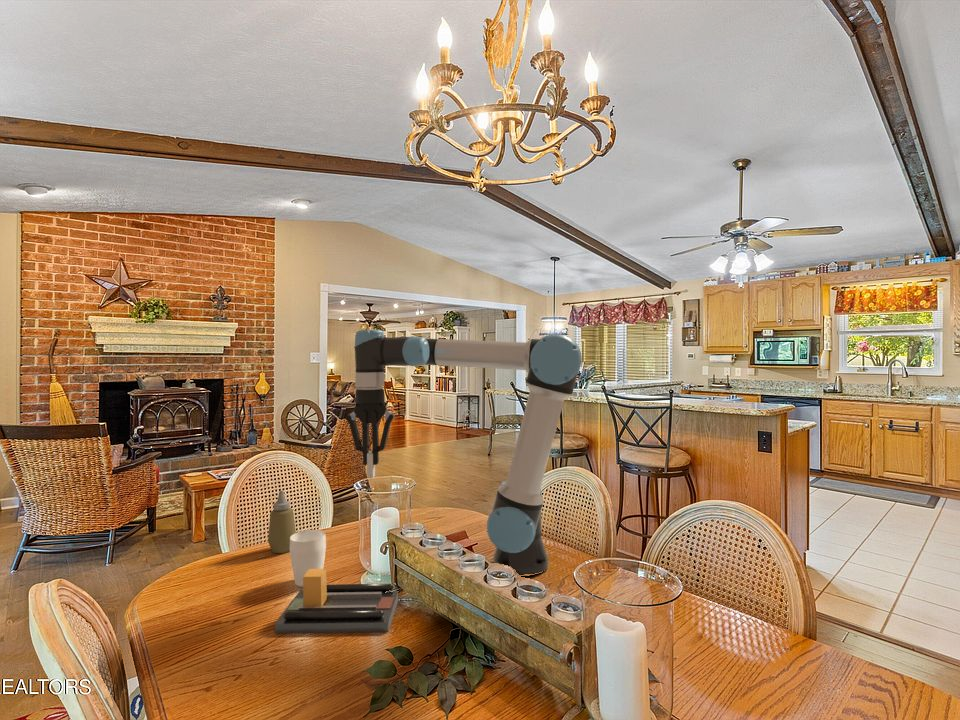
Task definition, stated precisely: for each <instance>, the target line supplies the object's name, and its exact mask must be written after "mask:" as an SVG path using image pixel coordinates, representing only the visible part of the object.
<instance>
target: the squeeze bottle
mask: <svg viewBox="0 0 960 720" xmlns="http://www.w3.org/2000/svg"><path fill="white" fill-rule="evenodd" d="M295 522H296V521H295V515H294V509H292V508H291V502H290V501H289V500H287V498H286V494H285V492H284V490H279V491H278V497H277V501H276V502H274V503H273V510H272V511H270V513H269V525H268V526H269V527H268V537H267V543H268V545H269V548H270V550H271V552H272V553H274V554H285V553H290V537H291V536H292V535H293V534H295V533H297V531H296V530H297V529H296V523H295Z"/></svg>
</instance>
